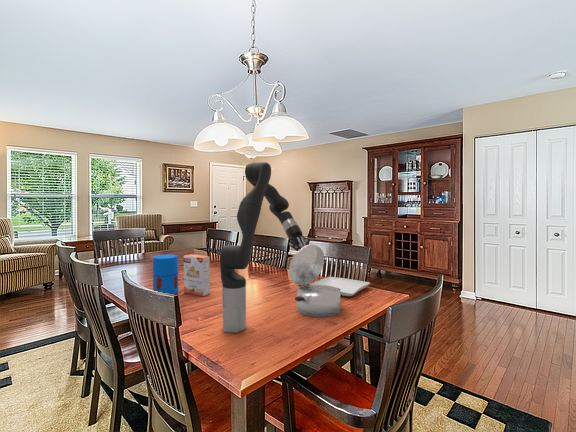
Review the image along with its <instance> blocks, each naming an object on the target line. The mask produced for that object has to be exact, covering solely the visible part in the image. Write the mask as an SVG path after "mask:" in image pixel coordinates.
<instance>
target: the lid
mask: <svg viewBox="0 0 576 432" xmlns="http://www.w3.org/2000/svg"><path fill="white" fill-rule="evenodd" d="M324 264H325V253H324V251H323V249H322V248H321V247H320V246H318V245H316V244H309V245H306V246H304V247H302V248H301V249H299V250H298V251H297V252H295V253H294V254H293V256H292V258H291V261H290V263H289V266H288V275H289V278H290V280H291V281H292V282H293V283H294V284H296V285H297V286H298V287H299V288H300V287H302V286H306V285H310V284H312V283H313V282H314V281H315V280H316V279H317V278H318V277H319V275H320V274H321V272H322V270H323V268H324Z"/></svg>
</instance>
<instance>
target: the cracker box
mask: <svg viewBox="0 0 576 432" xmlns="http://www.w3.org/2000/svg"><path fill="white" fill-rule="evenodd" d="M210 257H211V256H207V255H200V254H193V253H190V254H185V255H183V293H185V294H190V295H194V296H199V297H205V296H208V295H210V294H211V264H210V263H211V258H210Z"/></svg>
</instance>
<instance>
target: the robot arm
mask: <svg viewBox="0 0 576 432" xmlns="http://www.w3.org/2000/svg"><path fill="white" fill-rule="evenodd" d="M244 175H245V178H246V180H247V181H248V182H249V183H250V184H251V185H252V186H253V188H252V189H251V190H250V191H249V192H248V193H247V194H246V195H245V196H244V197H243V198H242V199H241V201H240V203H239V207H238V209H237V213H236V221H237V224H238V225H239V228H240V230H241V238H242V239H241V243H240V245H233V244H232V245H231V244H229V245H227V244H226V245H224V246H223V247H222V248H221V251H220V254H219V265H220V266H219V267H220V279H221V283H222V285H221V286H222V289H221V290H222V293H221V294H222V330H223V331H222V332H223V333H235V334H238V333H240V332H242V331H243V332H244V331H245V330H246V329H247V280H246V278H245V276H243V275H241V274H239V273H238V272H237V271H236V270H245V269H247V267H248V266H249V263H250V260H251V256H252V250H253V244H254V243H253V242H254V237H255V232H256V229H257V224H258V221H259V218H260V214H261V210H262V205H263V201H264V198H265V199H266V201H267V202H268V203H269V210H270V212H271V213H272V214H273V215H274V216H275V217H276V218H277V219H278V221H279V223H280V224H281V225H282V228H283V230H284V232H285V234H286V236H287V238H288V239H289V242H288V246H289V247H290V248H292V249H293V250H294V251H298V250H299V249H301V248H302V247H304V246H306V245H310V242H311V240H310V239H309V238H308V239H307V238H306V237H305V236H304V235H303V231H302V229H301V228H300V226H299V224H298V222H297V221H296V220H295V219H294V217H293V215H292V213H291V212H290V211H287V210H288V209H289V207H290V203H289V201H288V200H287V199H286V198H285V197H283V196H282V195H280V193H279V191H278V190H277V188H276V187H275V186H273V185H272V184H270V180H271V176H272V167H271V164H270V163H268V162H266V161H265V162H264V161H263V162H261V161H260V162H250V163H247V165H246V166H245V168H244Z"/></svg>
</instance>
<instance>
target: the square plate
mask: <svg viewBox="0 0 576 432" xmlns="http://www.w3.org/2000/svg"><path fill="white" fill-rule="evenodd" d="M370 284H371V282H369V281H365V280H364V281H362V280H356V279H350V278H346V277H345V278H344V277H335V276H327V277H326V278H325V277H324V278H322V279H319V280H318V281H315V282H312V283H310V285H327V286H332V287H335V288H339V289H340V296H341V295H342V297H352V296H354V295H356V294H357V293H358V292H360V291H361V290H364V289H365V288H367V287H368V286H369V285H370Z"/></svg>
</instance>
